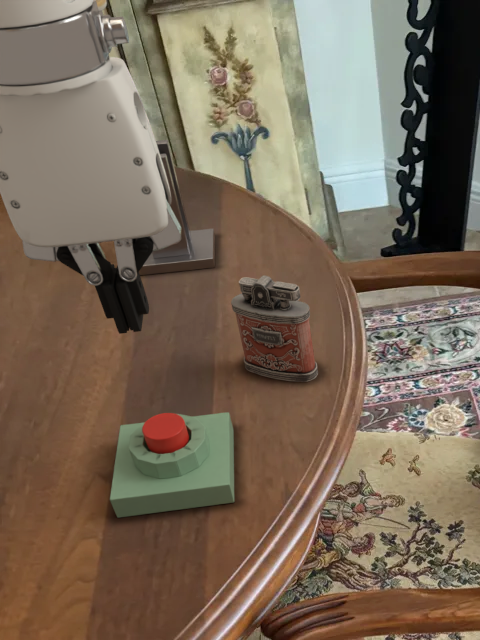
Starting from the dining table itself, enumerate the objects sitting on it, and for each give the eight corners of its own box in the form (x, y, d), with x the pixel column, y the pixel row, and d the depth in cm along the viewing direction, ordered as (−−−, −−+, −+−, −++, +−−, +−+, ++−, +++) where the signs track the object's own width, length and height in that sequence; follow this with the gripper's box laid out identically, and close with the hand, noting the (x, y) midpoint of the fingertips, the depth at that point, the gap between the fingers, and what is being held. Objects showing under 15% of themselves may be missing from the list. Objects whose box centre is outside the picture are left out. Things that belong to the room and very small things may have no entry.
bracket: (132, 276, 95) (98, 168, 86) (136, 245, 100) (105, 140, 91) (214, 267, 96) (190, 159, 86) (215, 237, 101) (192, 132, 92)
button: (146, 457, 67) (140, 441, 66) (148, 430, 69) (143, 415, 68) (188, 452, 67) (183, 436, 66) (189, 425, 70) (185, 410, 68)
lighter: (239, 371, 81) (219, 282, 74) (254, 353, 83) (236, 265, 76) (309, 385, 79) (296, 296, 72) (323, 366, 81) (311, 277, 74)
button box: (117, 518, 67) (102, 484, 64) (126, 443, 74) (114, 409, 71) (234, 502, 68) (225, 468, 65) (233, 430, 75) (225, 396, 72)
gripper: (170, 18, 49) (230, 286, 63) (-76, 41, 48) (39, 309, 61) (164, 54, 44) (231, 338, 57) (-112, 80, 43) (22, 363, 56)
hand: (131, 322), depth 59 cm, fingers closed
